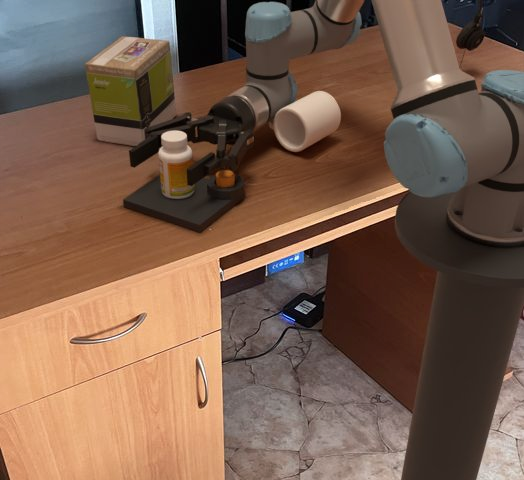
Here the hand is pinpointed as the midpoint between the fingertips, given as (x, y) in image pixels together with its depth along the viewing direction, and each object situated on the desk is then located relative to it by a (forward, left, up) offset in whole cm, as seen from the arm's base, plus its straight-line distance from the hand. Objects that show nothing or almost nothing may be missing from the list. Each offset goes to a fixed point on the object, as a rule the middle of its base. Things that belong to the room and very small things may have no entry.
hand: (159, 168), depth 121 cm
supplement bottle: (0, -4, -6) cm, 7 cm away
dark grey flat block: (-1, -4, -7) cm, 9 cm away
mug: (-7, -33, -7) cm, 35 cm away
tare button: (-6, -8, -5) cm, 12 cm away
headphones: (-15, -79, -8) cm, 81 cm away
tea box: (+23, -22, -8) cm, 32 cm away
